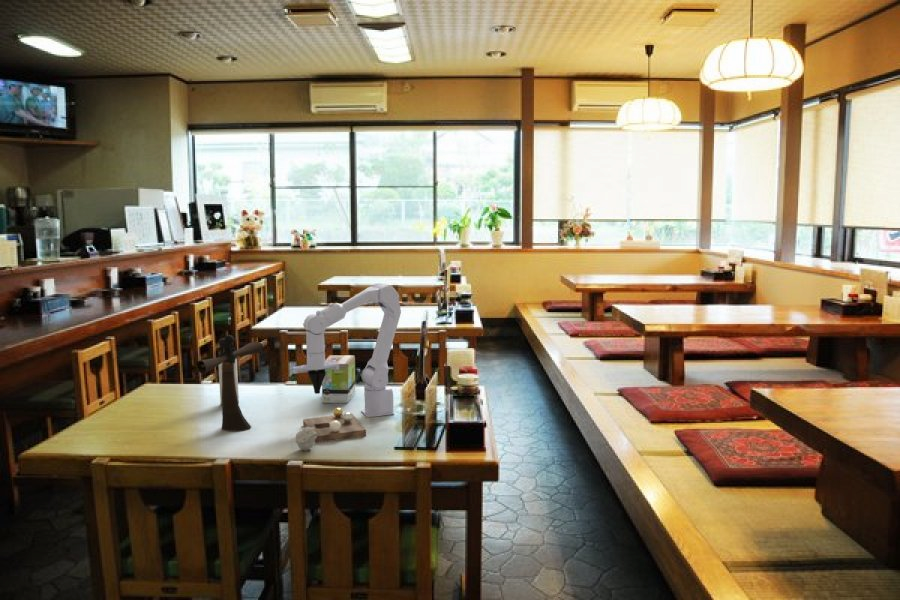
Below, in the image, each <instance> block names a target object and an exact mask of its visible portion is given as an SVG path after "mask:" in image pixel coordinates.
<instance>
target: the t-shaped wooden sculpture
mask: <svg viewBox="0 0 900 600" xmlns="http://www.w3.org/2000/svg"><path fill="white" fill-rule="evenodd" d="M234 342H235V338H234V336H233V335H231V334H227V335H226V336H225V337H222V338H220V339H219V340H218V345H219V347H220V351H221V352H220V355H221V357H218V356H217V357H214V358H213V357H211V358H207V359H201V360H198V361H197V363H196V366H197V367H196V368H197V370H198V372H199V373H200V374H201V375H205V374H207V373H208V372H210V371H211V370H213V369H215V368H216V367H217V366H218V367H219V364H221V363H222V406H221V415H222V416H221V417H222V421H221V422H222V423H221V429H222V430H224V431H230V432H240V431H247V430H250V429H251V428H252V426H251V424H250V423H249V422H248V420H247V419H246V418H245V416H244V415H243V412H242V409H241V407H240V405H239V404H240V403H239V404H238V399H237V393H236V387H235V377H234V364H233V363H235V357H244V356H249V355H257V354H260V353H261V352H263V350H264V345H263V343H261V342H260V341H259V342H258V341H252V342H249V343H247V344H245V345H243V346H242V347H240V348H238V349H236V351H235V352H233V351H232V348H233V346H234ZM222 352H223V353H224V355H223V356H222V354H223V353H222Z"/></svg>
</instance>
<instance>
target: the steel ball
mask: <svg viewBox="0 0 900 600" xmlns="http://www.w3.org/2000/svg"><path fill="white" fill-rule="evenodd" d="M343 414H344V415H343V421H344V422H346V423H349V422H351V421H352V419H353V416H352V414H353V413H352V414H351V412H345V413H343Z"/></svg>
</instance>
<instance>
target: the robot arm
mask: <svg viewBox="0 0 900 600" xmlns="http://www.w3.org/2000/svg"><path fill="white" fill-rule="evenodd" d="M399 300H400V295H399V293H398V291H397V290H396V288H394V286H391V285H386V284H383V283H375V284H374V285H371V286H368V287H367V288H365V289H364V290H362V291H360V292H359V293H356V295H354V296H352V297H351V298H349V299H347V300H345V301H344V302H342V303H338V302H334V303H333V302H331V303H328V306H327V307H325V308H323V309H321V310H316V312H315V313H316V314H308V315H307V316H306V317H305V319H304V321H303V323H302V325H303V328H304V330H305V332H306V333H305V334H306V336H305V337H306V338H305V339H306V341H305V342H306V343H305V344H306V364H303V365H298V366H292V373H293V374H295V375H296V374H302V373H307V375H308V376H309V379H310V381H311V384H312V387H313V392H314V394H315V395H318V394H320V393H321V389H322V382H323V379H324V377H325V375H326V372H325V370H334V369H336V370H339V363H325V360H326V352H325V351H326V348H325V332H326V330H327V328H330V327H331V326H333V325H334V324H336V323H338V322H341V320H343V319H345V317H346V315H347V313H349V312H350V311H352V310H355V309H357V308H359V307H361V306H363V305H365V304H368V303H371V304H372V303H373V304H374V303H375V304H377V305H378V306H379V307H380V309H381V310H382V312H383V317H382V320H381V324H380V328H379V330H378V331H379V332H378V335H377V339H376V341H375V346H374V348H373V353H372V355H371V356H372V357H371V358H369V360H368V361H367V364H366V366H365V368H363V370H362V372H361V380H362V382H363V383H364V387H363V389H364V409H361V412H362V414H364V416H365V417H367V418H372V417H373V418H374V417H382V416H389V415H390V416H391V415H394V414H395V412H394V392H393V388H392V387H391V386H388V383H389V376H388V374H389V366H388V360H389V356H390V352H391V349H392V346H393V342H394V338H395V336H396V335H395V334H396V333H397V332H396V331H397V328H398V324H399V321H400V318H401V315H402V314H401V313H402V309H401V304H400V301H399Z"/></svg>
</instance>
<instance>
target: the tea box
mask: <svg viewBox="0 0 900 600" xmlns="http://www.w3.org/2000/svg"><path fill="white" fill-rule="evenodd" d="M325 363H339V370H336V369H334V370H325V372H326V375H325V377H324V379H323V382H322V385H321V401H322V402H321V403H322V404H325V403H326V404H349V402H350V401H351V399H352V397H353V396H354V394H355V392H356V357H355V355H351V354H349V355H347V354H346V355H340V354H339V355H337V354H335V355H333V354H332V355H331V354H329V355H328V357H327V358H325Z"/></svg>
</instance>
